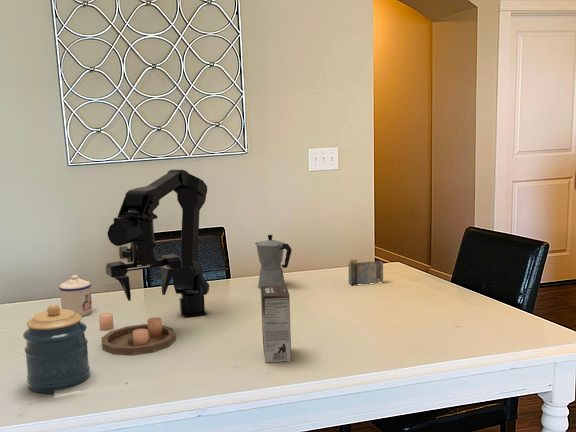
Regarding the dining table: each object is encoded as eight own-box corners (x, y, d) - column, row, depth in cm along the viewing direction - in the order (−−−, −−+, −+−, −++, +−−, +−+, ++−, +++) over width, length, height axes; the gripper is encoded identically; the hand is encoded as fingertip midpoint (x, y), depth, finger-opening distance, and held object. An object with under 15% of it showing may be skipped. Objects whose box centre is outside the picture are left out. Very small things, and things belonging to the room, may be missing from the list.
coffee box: (262, 349, 155) (260, 285, 153) (288, 347, 156) (286, 284, 153) (264, 363, 146) (261, 295, 144) (292, 361, 147) (290, 294, 144)
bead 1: (113, 328, 175) (112, 312, 174) (114, 332, 171) (113, 316, 171) (99, 329, 174) (98, 314, 173) (100, 333, 170) (99, 317, 169)
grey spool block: (351, 287, 212) (350, 259, 210) (348, 285, 215) (348, 257, 213) (383, 285, 214) (383, 257, 212) (380, 283, 216) (380, 255, 215)
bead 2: (147, 345, 158) (146, 327, 157) (149, 349, 155) (148, 332, 154) (133, 347, 157) (132, 329, 156) (134, 351, 153) (133, 334, 153)
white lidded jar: (89, 317, 185) (86, 278, 184) (57, 319, 184) (54, 280, 183) (97, 305, 197) (95, 269, 195) (67, 307, 196) (64, 270, 194)
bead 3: (163, 337, 163) (162, 320, 163) (149, 339, 162) (148, 322, 162) (161, 333, 167) (160, 316, 166) (147, 334, 166) (146, 318, 165)
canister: (90, 389, 134) (83, 309, 132) (24, 398, 131) (17, 316, 128) (90, 367, 147) (85, 293, 144) (31, 375, 143) (24, 299, 140)
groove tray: (169, 329, 172) (168, 320, 172) (180, 351, 155) (180, 341, 155) (100, 338, 166) (99, 329, 166) (104, 362, 149) (103, 351, 149)
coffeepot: (248, 287, 214) (246, 235, 212) (266, 281, 221) (264, 230, 219) (283, 293, 205) (281, 239, 202) (300, 287, 212) (299, 234, 209)
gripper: (166, 230, 173) (169, 285, 176) (97, 238, 164) (102, 296, 166) (181, 236, 164) (184, 294, 166) (109, 245, 154) (114, 306, 157)
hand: (146, 297), depth 164 cm, fingers open, 9 cm apart
